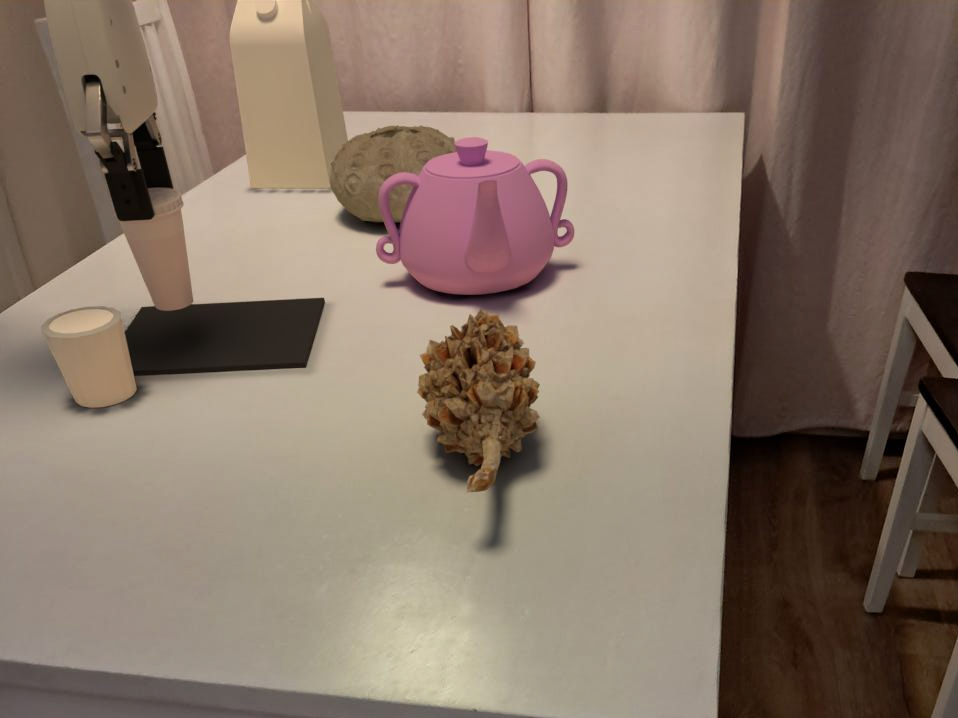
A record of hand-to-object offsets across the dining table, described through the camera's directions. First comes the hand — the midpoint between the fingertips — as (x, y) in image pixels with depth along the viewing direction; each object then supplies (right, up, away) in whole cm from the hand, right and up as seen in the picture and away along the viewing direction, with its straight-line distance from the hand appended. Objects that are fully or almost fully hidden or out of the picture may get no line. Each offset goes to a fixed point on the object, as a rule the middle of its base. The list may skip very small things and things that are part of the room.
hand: (146, 204), depth 84 cm
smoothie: (0, -7, +6) cm, 9 cm away
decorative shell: (+20, +17, +38) cm, 46 cm away
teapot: (+30, 0, +18) cm, 35 cm away
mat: (+4, -9, +10) cm, 14 cm away
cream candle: (-5, -17, +2) cm, 18 cm away
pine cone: (+31, -26, -11) cm, 42 cm away
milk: (+4, +29, +53) cm, 61 cm away
